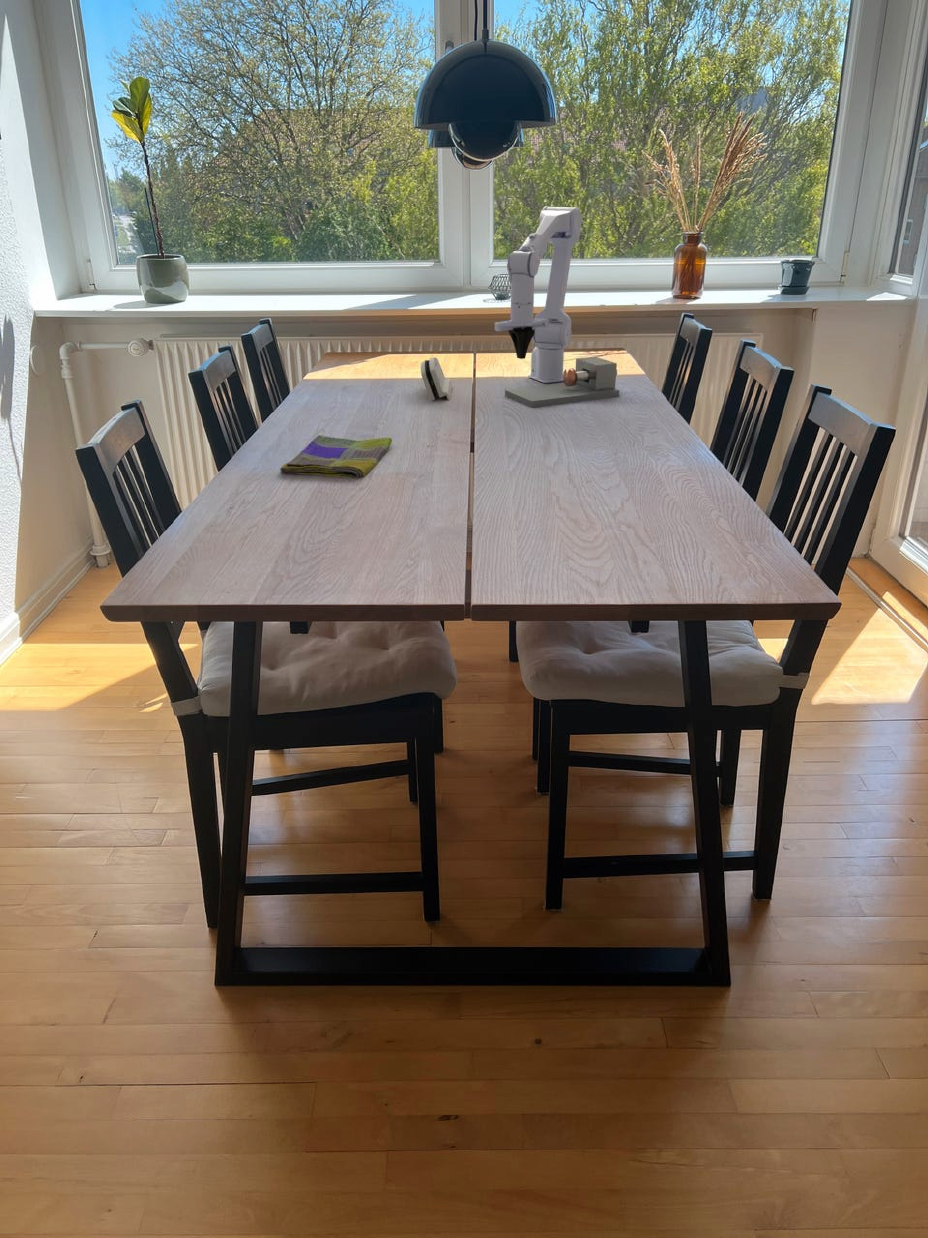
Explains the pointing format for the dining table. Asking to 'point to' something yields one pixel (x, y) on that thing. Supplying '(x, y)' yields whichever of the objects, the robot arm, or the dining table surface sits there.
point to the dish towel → (338, 457)
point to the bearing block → (597, 373)
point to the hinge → (435, 379)
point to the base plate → (556, 394)
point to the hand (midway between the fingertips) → (521, 357)
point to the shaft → (575, 376)
